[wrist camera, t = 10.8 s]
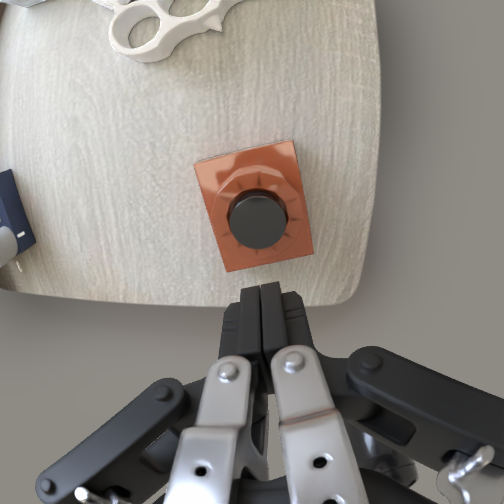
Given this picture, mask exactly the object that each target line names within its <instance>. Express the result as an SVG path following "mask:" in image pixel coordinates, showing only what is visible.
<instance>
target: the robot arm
mask: <svg viewBox="0 0 504 504" xmlns="http://www.w3.org/2000/svg"><path fill="white" fill-rule="evenodd" d="M269 394H275V395H276V402H277V407H278V413H279V433H280V441H281V446H282V453H283V459H284V466H285V472H286V475H285V476H283V477H280V478H277V479H274V480H270V481H269V468H268V462H267V447H268V428H269V410H268V395H269ZM167 429H168V430H167ZM166 430H167V431H166ZM165 431H166V432H165ZM164 432H165V433H164ZM163 433H164V434H163ZM159 436H160V437H159ZM158 437H159V438H158ZM157 438H158V439H157ZM156 439H157V440H156ZM155 440H156V441H155ZM154 441H155V442H154ZM151 443H152V444H151ZM150 444H151V445H150ZM149 445H150V446H149ZM148 446H149V447H148ZM147 447H148V448H147ZM414 460H415V461H417V462H419V463H421V464H423V465H425V466H427V467H430V468H431V469H434V470H436V471H438V475H437V479H436V486H437V489H438V491H439V492H440V493H441V494H442V495H443V496H445V497H446V498H447V499H448V500H449V502H450V504H502V503H503V501H504V399H502V398H500V397H497V396H495V395H492V394H489V393H487V392H484V391H482V390H479V389H477V388H474V387H472V386H469V385H467V384H465V383H462V382H460V381H457V380H455V379H452V378H450V377H448V376H445V375H443V374H441V373H438V372H436V371H434V370H431V369H429V368H426V367H424V366H422V365H419V364H417V363H415V362H413V361H411V360H408V359H406V358H404V357H401V356H399V355H397V354H395V353H393V352H390V351H388V350H386V349H384V348H381V347H377V346H367V347H363V348H360V349H358V350H356V351H355V352H353V353H352V354H351V355H350V357H349V358H331V357H327V356H324V355H322V354H321V353H319V352H318V351H317V350H316V348H315V347H314V344H313V340H312V336H311V332H310V328H309V324H308V320H307V316H306V312H305V308H304V304H303V300H302V297H301V296H300V295H298V294H297V293H296V292H295V291H292V292H287V293H281V288H280V284H279V281H278V282H273V283H268V284H263V285H261V288H260V286H259V285H258V286H253V287H248V288H243V289H241V294H240V302H236V303H231V304H230V305H229V306H228V308H227V310H226V311H225V312H224V318H223V326H222V334H221V341H220V349H219V357H218V360H217V361H216V362H214V363H213V364H212V365H211V366H210V368H209V370H208V372H207V376H206V377H205V378H203V379H201V380H198V381H195V382H192V383H189V384H187V385H184V386H183V385H182V384H181V382H179V381H178V380H176V379H174V378H163V379H160V380H158V381H156V382H154V383H153V384H151V385H150V386H149V387H148V388H147V389H146V390H144V391H143V392H142V393H141V394H140V395H139V396H138V397H136V398H135V399H134V400H133V401H131V402H130V403H129V404H128V405H127V406H125V407H124V408H123V409H122V410H121V411H120V412H118V413H117V414H116V415H115V416H113V417H112V418H111V419H110V420H108V421H107V422H106V423H105V424H104V425H102V426H101V427H100V428H99V429H97V430H96V431H95V432H94V433H92V434H91V435H90V436H89V437H87V438H86V439H85V440H84V441H82V442H81V443H80V444H78V445H77V446H76V447H75V448H73V449H72V450H71V451H70V452H68V453H67V454H66V455H64V456H63V457H62V458H60V459H59V460H58V461H57V462H55V463H54V464H52V465H51V466H50V467H48V468H47V469H46V470H44V471H43V472H42V473H41V474H40V475H39V476H38V478H37V480H36V486H35V488H36V493H37V496H38V497H39V499H40V500H41V501H42V502H43V503H45V504H142V503H144V502H145V501H146V500H147V499H149V498H150V497H151V496H152V495H153V494H155V493H156V492H157V491H158V490H159V489H161V488H162V487H163V486H164V485H165V484H166V483H167V482H169V483H168V487H167V491H166V493H164V494H163V495H162V496H161V497H159V498H158V499H157V500H156V501H155V502H154V503H153V504H437V503H436V502H434V501H432V500H430V499H428V498H426V497H424V496H422V495H420V494H419V493H417V492H415V491H413V490H411V489H410V488H411V487H412V486H413V485H414V484H415V483H416V482H417V481H418V479H419V475H418V471H417V467H416V465H415V461H414Z"/></svg>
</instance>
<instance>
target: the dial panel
mask: <svg viewBox="0 0 504 504" xmlns="http://www.w3.org/2000/svg"><path fill="white" fill-rule="evenodd" d="M3 226H6V227H8V228H9V229H10V230H11V231H12V232H13V234H14V236H15V238H16V241H17V246H18V251H17V254H16V255H18V254H20V253H22V252H24V251H25V250H26V249H28V248H29V247H30V246H32V245H33V244H34V243H36V240H35V238H34V235H33V233H32V231H31V228H30V225H29V223H28V220H27V218H26V215H25V212H24V209H23V207H22V204H21V201H20V198H19V195H18V191H17V188H16V185H15V181H14V178H13V174H12V171H11V169H9V170H7V171H4V172H1V173H0V228H1V227H3ZM16 264H17V266H18V268H19V270H20V272H22V269H21V267H20V265H19V263H18V261H17V262H16Z"/></svg>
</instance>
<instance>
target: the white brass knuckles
mask: <svg viewBox="0 0 504 504" xmlns="http://www.w3.org/2000/svg"><path fill="white" fill-rule="evenodd" d="M91 1H93V2H95V3H97V4H99V5H101V6H103V7H106V8H108V9H110V10H112V11H114V12H115V16H114V18H113V19H112V21H111V24H110V27H109V33H108V36H109V41H110V44H111V46H112V47H113V49H114V50H115V51H117V52H118V53H120V54H122V55H124V56H126V57H128V58H131V59H133V60H135V61H138V62H142V63H151V62H156V61H160V60H163V59H165V58H167V57H169V56H170V54H171V52H172V51H173V49H174V48H175V47H176V45H177V44H178V43H180V42H181V41H182V40H183V39H185V38H187V37H189V36H191V35H194V34H197V33H204V32H206V31H207V30H209V29H210V28H211V29H214V30H217V31H220V32H223V30H222V25H221V22H222V21H223V20H224V17H225V15H226V13H227V11H228V10H229V9H230V8H231V7H232V6H233V5H235V4H236V3H238V2H240V1H243V0H209V2H208V3H207V5H206V6H205V7H204V8H203V9H202V10H201V11H199V12H197V13H196V14H193V15H191V16H187V17H174V16H171V15H169V7H170V5H171V4H172V2H173V1H174V0H138V1H134V2H132V3H129V2H130V1H131V0H91ZM128 3H129V4H128ZM148 17H159V18H160V27H159V30H158V32H157V34H156V35H155V36H154V38H153V39H152V40H150V41H149V42H148V43H146V44H145V45H143V46H140V47H137V48H132V47H131V46H130V44H129V41H128V37H129V33H130V31H131V29H132V28H133V26H134V25H135V24H136V23H138V22H139V21H141V20H142V19H145V18H148Z"/></svg>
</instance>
